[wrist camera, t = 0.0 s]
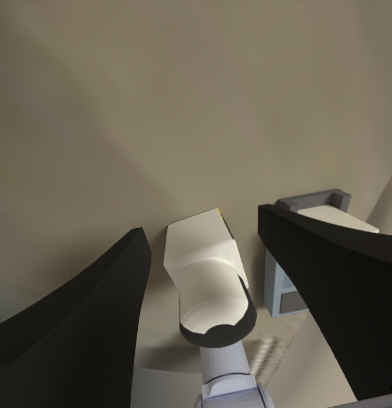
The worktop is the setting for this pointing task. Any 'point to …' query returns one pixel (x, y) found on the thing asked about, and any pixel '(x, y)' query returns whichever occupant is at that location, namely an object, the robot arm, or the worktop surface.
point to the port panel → (280, 291)
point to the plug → (336, 217)
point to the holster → (317, 200)
